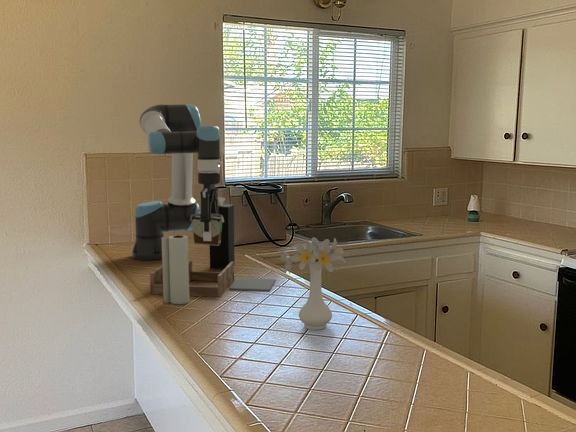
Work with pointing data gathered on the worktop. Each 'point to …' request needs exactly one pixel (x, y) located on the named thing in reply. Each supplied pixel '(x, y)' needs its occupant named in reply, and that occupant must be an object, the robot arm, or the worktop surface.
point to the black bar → (224, 238)
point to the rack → (222, 277)
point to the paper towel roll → (175, 269)
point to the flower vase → (315, 279)
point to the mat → (252, 284)
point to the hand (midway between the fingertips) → (210, 238)
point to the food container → (215, 228)
